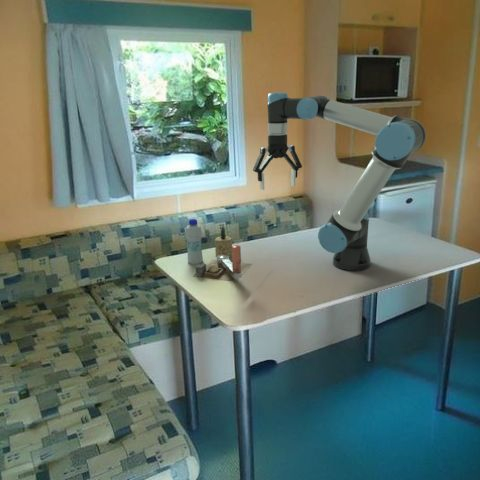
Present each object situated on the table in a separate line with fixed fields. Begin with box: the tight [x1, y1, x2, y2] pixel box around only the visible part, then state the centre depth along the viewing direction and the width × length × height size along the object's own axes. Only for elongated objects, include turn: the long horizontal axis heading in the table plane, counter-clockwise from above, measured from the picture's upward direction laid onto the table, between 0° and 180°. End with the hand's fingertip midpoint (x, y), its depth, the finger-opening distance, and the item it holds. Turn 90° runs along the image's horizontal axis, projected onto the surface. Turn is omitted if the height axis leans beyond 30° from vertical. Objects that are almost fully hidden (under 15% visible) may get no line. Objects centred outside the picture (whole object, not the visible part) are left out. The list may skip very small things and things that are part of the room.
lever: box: [216, 244, 243, 279], centre depth 188 cm, size 21×5×12 cm, turn 20°
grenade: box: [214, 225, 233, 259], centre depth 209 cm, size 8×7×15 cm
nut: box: [209, 264, 219, 273], centre depth 191 cm, size 4×4×4 cm
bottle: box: [185, 218, 204, 265], centre depth 202 cm, size 7×7×20 cm
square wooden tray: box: [192, 258, 253, 283], centre depth 195 cm, size 18×19×6 cm
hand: (277, 187), depth 197 cm, fingers open, 13 cm apart
